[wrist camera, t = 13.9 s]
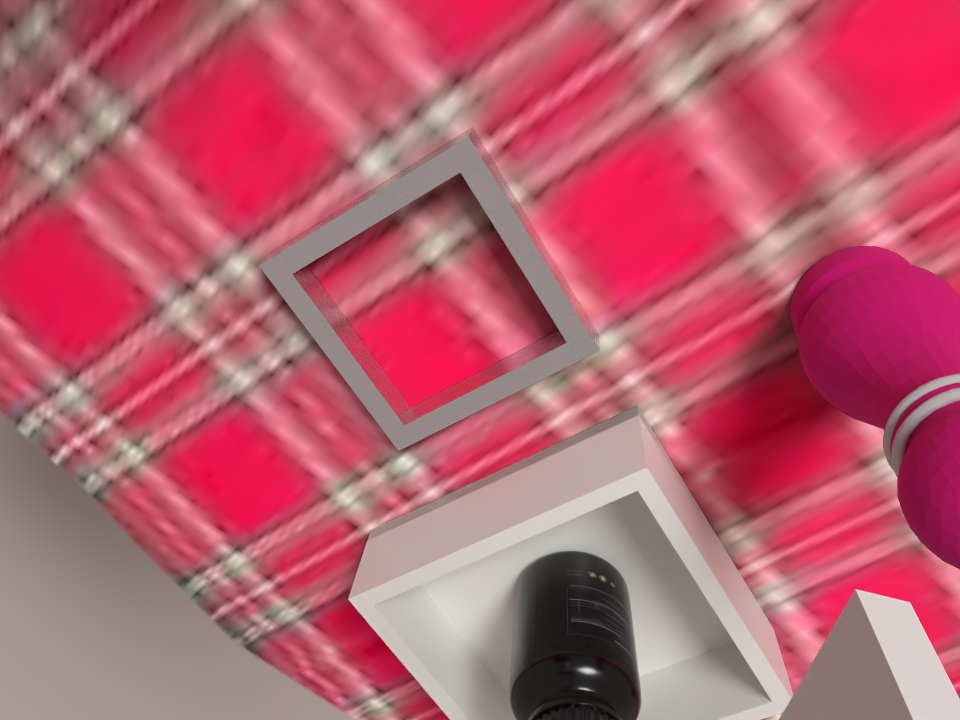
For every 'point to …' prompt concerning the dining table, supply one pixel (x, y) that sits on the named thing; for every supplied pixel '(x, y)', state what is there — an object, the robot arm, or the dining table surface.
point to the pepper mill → (892, 373)
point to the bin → (573, 527)
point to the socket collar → (355, 358)
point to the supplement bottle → (573, 642)
